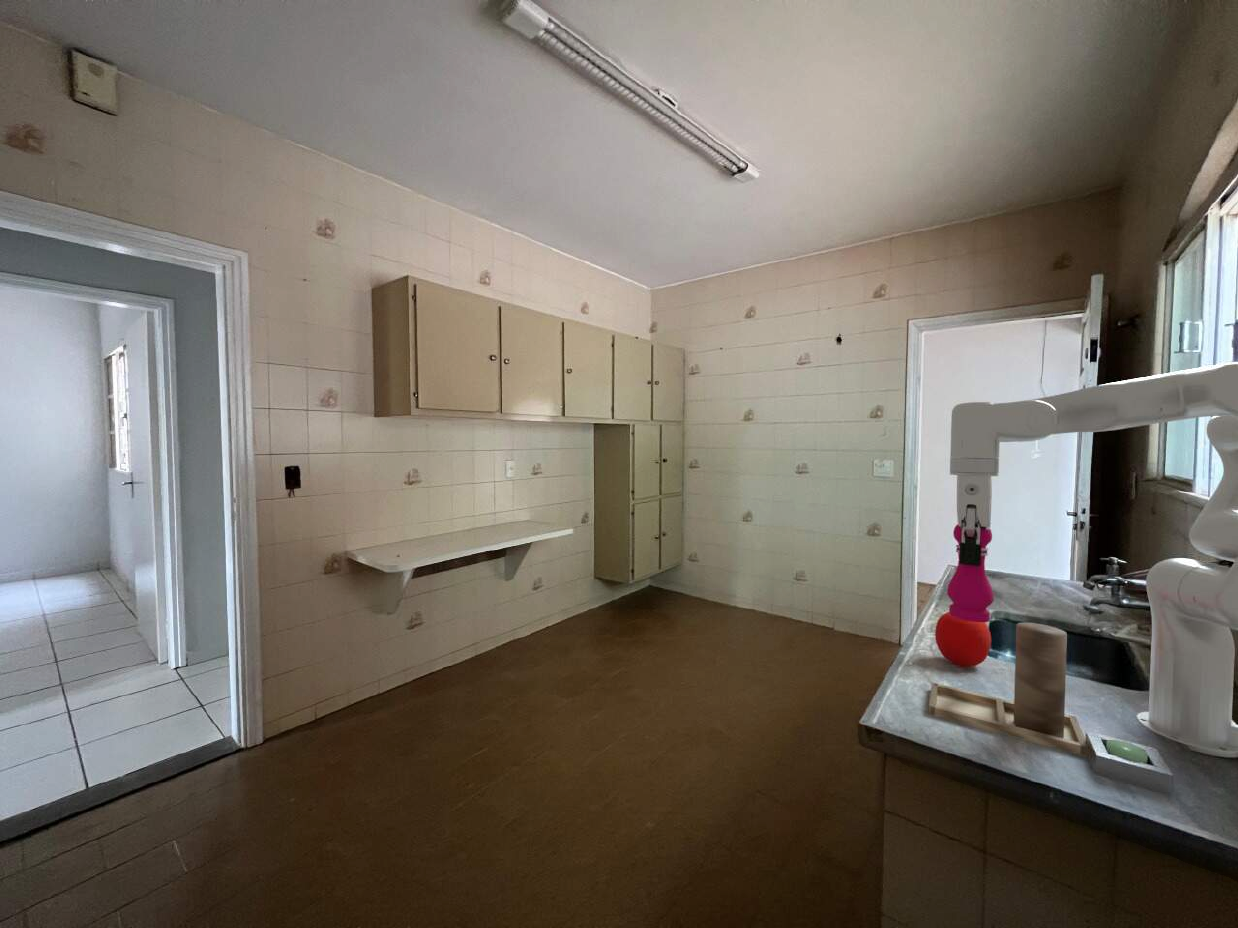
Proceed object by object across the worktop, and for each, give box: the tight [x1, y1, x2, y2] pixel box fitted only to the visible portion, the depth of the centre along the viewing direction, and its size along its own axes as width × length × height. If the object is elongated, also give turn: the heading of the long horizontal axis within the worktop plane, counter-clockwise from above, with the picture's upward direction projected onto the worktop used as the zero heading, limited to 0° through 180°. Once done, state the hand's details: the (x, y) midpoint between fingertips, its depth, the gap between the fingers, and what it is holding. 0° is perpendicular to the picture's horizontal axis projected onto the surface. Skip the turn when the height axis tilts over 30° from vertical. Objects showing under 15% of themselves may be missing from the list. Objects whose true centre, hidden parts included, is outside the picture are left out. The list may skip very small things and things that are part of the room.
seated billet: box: [1013, 622, 1068, 738], centre depth 87 cm, size 7×7×18 cm
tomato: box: [934, 611, 992, 669], centre depth 115 cm, size 11×11×13 cm
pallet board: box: [928, 682, 1089, 758], centre depth 90 cm, size 22×12×2 cm, turn 55°
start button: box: [1106, 739, 1147, 764], centre depth 76 cm, size 4×4×4 cm
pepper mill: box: [946, 513, 995, 623], centre depth 93 cm, size 7×7×20 cm
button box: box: [1085, 730, 1174, 797], centre depth 76 cm, size 8×8×4 cm
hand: (970, 561), depth 93 cm, fingers closed on pepper mill, 5 cm apart
